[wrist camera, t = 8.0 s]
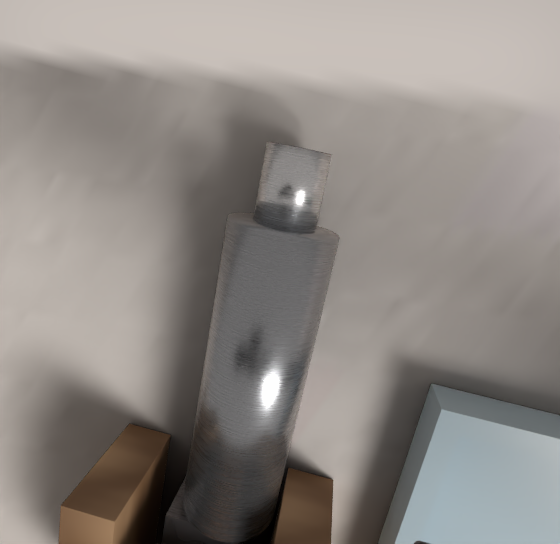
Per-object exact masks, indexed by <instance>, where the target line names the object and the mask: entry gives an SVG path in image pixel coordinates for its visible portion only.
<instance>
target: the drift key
mask: <svg viewBox="0 0 560 544" xmlns="http://www.w3.org/2000/svg"><path fill="white" fill-rule="evenodd" d="M185 480H186V477H185V479H184V481H183V483H182V485H181V487H180V489H179V491H178V493H177V494H176V496H175V498H174V500H173V502H172V504H171V506H170V508H169V510H168V512H167V514H166V517H165V524H164V531H163V538H162V544H242V543H243V541H242V542H234V543H232V542H221V541H217V540H213V539H211V538H208V537H206V536H205V535H203V534H201V533H200V532H199V531H197V530H196V529H195V528H194V527H193V526H192V525H191V523H190V522H189V521H188V519H187V517H186V515H185V513H184V509H183V501H182V500H183V493H184V486H185Z"/></svg>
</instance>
